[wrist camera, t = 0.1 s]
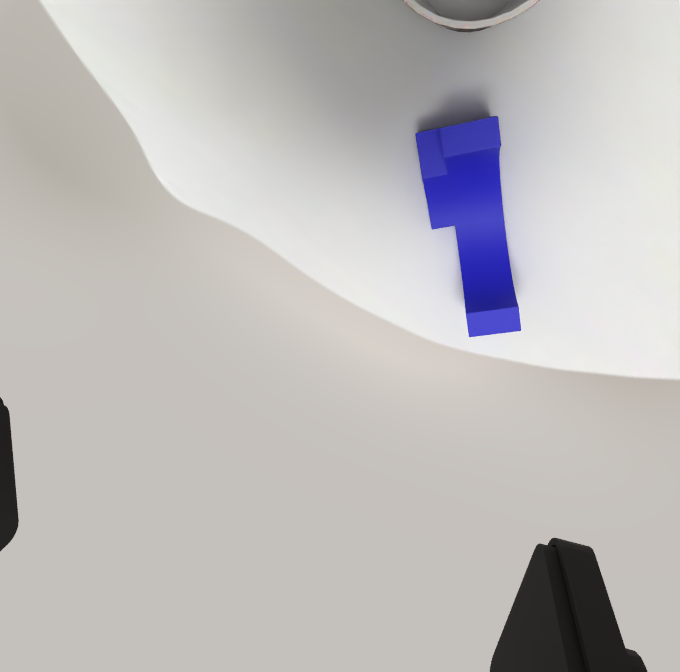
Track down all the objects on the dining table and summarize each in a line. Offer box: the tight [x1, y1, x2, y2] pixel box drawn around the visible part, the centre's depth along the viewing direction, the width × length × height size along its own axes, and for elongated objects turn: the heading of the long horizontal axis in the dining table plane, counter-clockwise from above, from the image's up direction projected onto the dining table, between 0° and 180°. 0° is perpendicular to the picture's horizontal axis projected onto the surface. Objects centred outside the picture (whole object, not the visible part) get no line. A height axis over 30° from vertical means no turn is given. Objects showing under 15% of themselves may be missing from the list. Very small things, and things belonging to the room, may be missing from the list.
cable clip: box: [416, 116, 521, 337], centre depth 34 cm, size 12×4×6 cm, turn 12°
